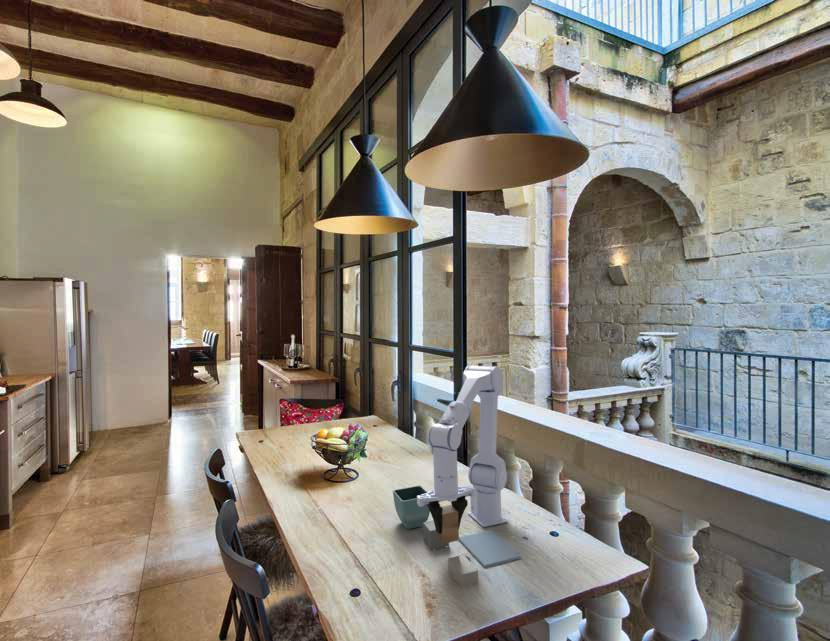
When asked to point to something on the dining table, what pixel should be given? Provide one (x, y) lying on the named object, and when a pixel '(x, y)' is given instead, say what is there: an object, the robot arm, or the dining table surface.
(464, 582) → the pale grey block
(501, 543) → the slate mat
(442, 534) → the tall walnut block
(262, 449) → the dining table surface
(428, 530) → the grey cube
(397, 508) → the flower pot
